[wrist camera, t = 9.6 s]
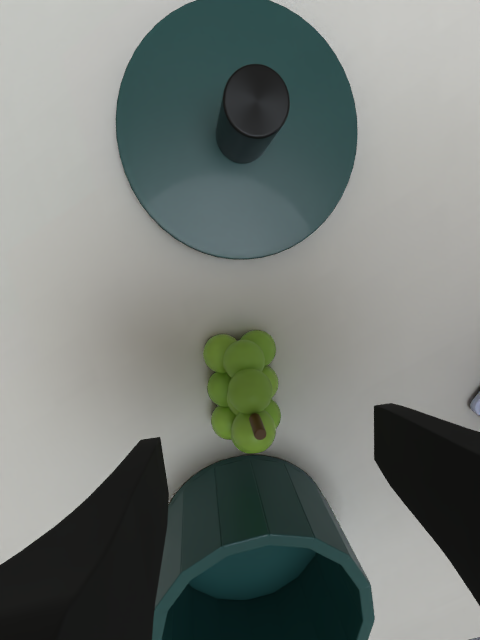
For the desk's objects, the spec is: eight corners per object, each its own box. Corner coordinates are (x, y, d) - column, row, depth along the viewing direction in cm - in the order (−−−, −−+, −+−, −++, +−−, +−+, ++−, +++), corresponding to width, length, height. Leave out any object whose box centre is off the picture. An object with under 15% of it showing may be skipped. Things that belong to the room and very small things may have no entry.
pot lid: (390, 118, 18) (466, 69, 13) (264, 299, 19) (290, 318, 14) (206, -51, 15) (213, -190, 11) (74, 169, 17) (23, 136, 12)
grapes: (277, 420, 21) (310, 490, 15) (212, 430, 20) (220, 506, 14) (270, 324, 19) (303, 358, 13) (200, 332, 19) (204, 371, 13)
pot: (358, 501, 22) (416, 590, 17) (265, 621, 24) (289, 744, 18) (224, 424, 20) (236, 496, 14) (127, 561, 21) (102, 679, 15)
